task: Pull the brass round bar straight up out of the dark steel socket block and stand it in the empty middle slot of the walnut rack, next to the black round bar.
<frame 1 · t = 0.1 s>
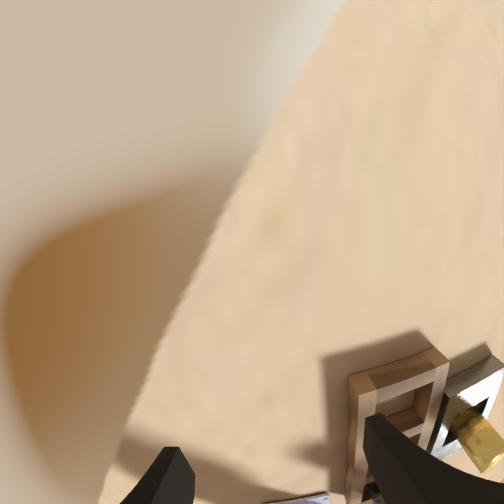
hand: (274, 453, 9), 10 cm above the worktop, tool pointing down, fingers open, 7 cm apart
black round bar: (378, 471, 23), resting in walnut rack
steel socket: (455, 410, 22), on the worktop
brass round bar: (474, 433, 17), in the steel socket
walnut rack: (384, 440, 22), on the worktop
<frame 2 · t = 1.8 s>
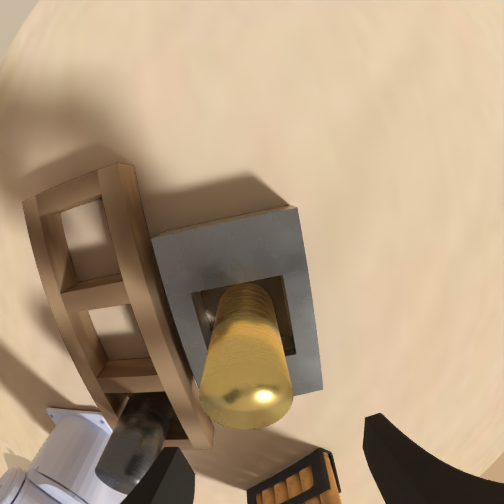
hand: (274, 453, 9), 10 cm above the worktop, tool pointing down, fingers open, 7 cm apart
black round bar: (154, 398, 20), resting in walnut rack
steel socket: (245, 309, 19), on the worktop
brass round bar: (245, 343, 14), in the steel socket
walnut rack: (123, 328, 19), on the worktop
ammunition clip: (286, 473, 23), on the worktop
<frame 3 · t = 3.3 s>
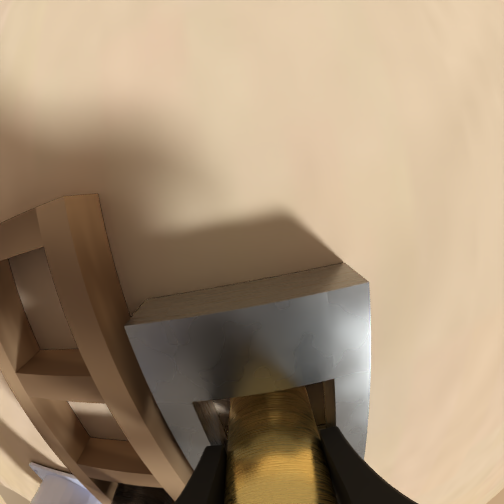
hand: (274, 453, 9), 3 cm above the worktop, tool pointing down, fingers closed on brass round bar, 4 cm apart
black round bar: (149, 476, 14), resting in walnut rack
steel socket: (268, 400, 12), on the worktop
brass round bar: (276, 474, 8), in the steel socket, touching gripper
walnut rack: (104, 410, 13), on the worktop
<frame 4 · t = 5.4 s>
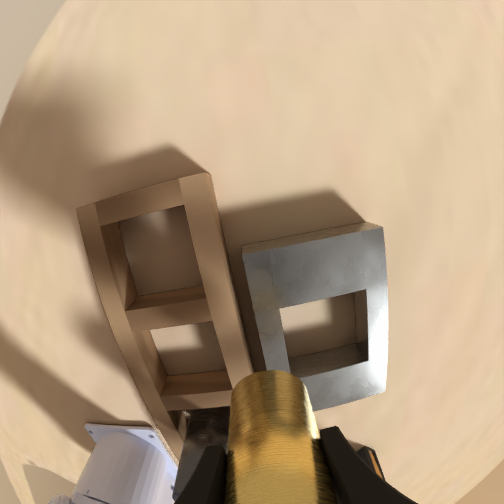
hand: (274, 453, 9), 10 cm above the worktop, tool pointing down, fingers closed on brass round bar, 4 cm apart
black round bar: (214, 410, 21), resting in walnut rack
steel socket: (319, 320, 19), on the worktop
brass round bar: (277, 474, 8), point 11 cm above the worktop, touching gripper
walnut rack: (189, 343, 19), on the worktop
ammunition clip: (330, 472, 23), on the worktop
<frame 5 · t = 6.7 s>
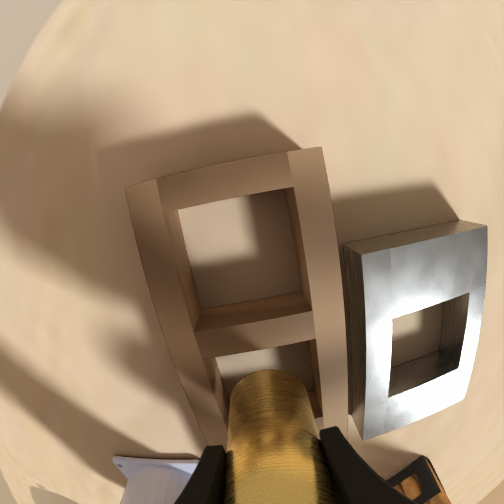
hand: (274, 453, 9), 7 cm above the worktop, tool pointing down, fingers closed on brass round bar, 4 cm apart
steel socket: (410, 328, 15), on the worktop
brass round bar: (276, 474, 8), point 8 cm above the worktop, touching gripper
walnut rack: (264, 365, 15), on the worktop
ammunition clip: (382, 485, 20), on the worktop
when the fingers open (5 cm above the worktop, at t = 7.5 s): brass round bar drops 2 cm, resting in walnut rack.
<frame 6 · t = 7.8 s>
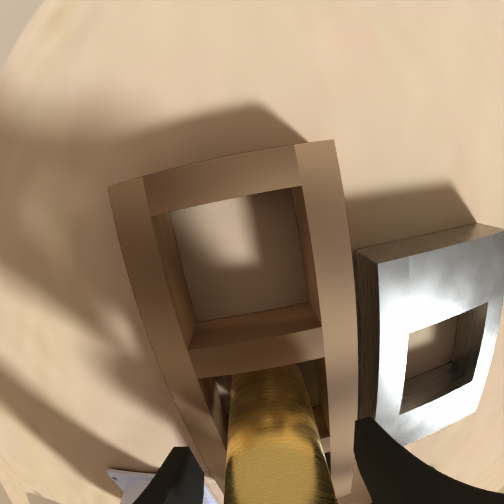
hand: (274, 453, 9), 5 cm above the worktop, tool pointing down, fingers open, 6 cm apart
steel socket: (423, 339, 14), on the worktop
brass round bar: (273, 445, 9), in the walnut rack
walnut rack: (267, 381, 14), on the worktop
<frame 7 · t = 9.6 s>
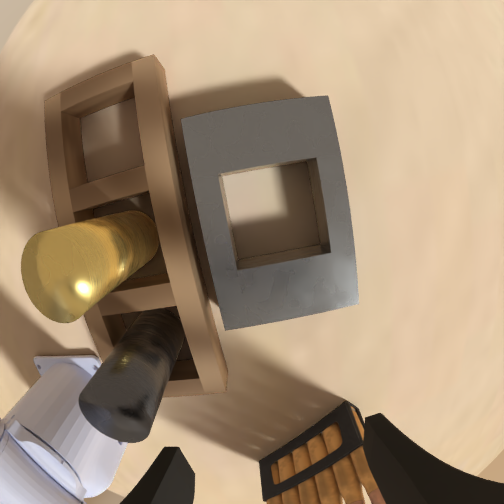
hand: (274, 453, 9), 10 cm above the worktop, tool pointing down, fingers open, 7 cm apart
black round bar: (159, 330, 19), resting in walnut rack
steel socket: (272, 210, 18), on the worktop
brass round bar: (102, 253, 13), in the walnut rack
walnut rack: (133, 238, 18), on the worktop
ammunition clip: (306, 436, 22), on the worktop
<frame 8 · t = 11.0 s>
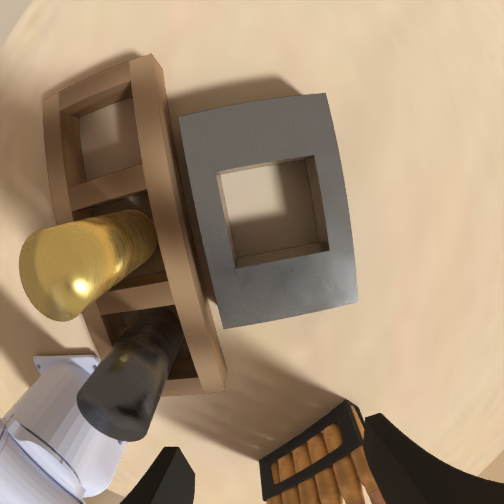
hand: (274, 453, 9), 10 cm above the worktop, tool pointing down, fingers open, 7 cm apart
black round bar: (158, 329, 19), resting in walnut rack
steel socket: (270, 208, 17), on the worktop
brass round bar: (100, 251, 13), in the walnut rack
walnut rack: (131, 237, 18), on the worktop
ammunition clip: (306, 436, 22), on the worktop
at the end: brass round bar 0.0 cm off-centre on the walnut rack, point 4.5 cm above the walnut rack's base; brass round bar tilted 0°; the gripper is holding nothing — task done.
